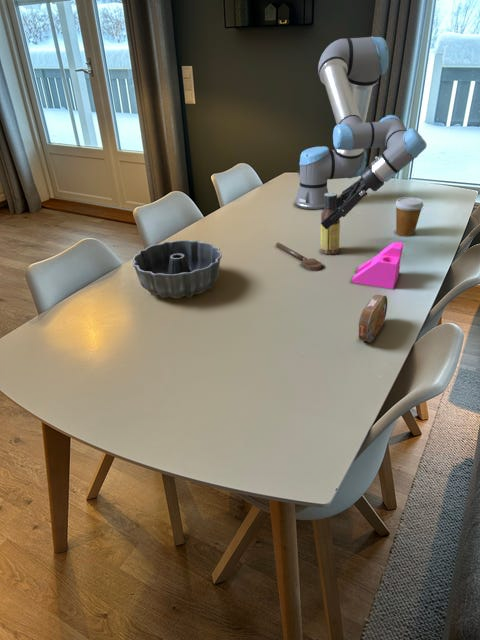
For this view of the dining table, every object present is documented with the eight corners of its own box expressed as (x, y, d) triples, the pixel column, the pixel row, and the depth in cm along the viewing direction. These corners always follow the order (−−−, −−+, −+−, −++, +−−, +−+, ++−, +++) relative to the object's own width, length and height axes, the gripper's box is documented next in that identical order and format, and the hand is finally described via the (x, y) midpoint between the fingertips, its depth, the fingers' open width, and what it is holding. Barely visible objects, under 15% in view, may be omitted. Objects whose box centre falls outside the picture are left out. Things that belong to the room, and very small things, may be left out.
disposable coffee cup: (415, 228, 175) (420, 196, 168) (421, 237, 167) (426, 204, 160) (389, 228, 176) (393, 196, 169) (394, 237, 168) (398, 205, 161)
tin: (367, 348, 110) (370, 318, 106) (354, 345, 112) (357, 315, 108) (386, 319, 121) (390, 290, 117) (374, 316, 123) (378, 288, 118)
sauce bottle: (340, 248, 162) (344, 191, 151) (337, 256, 157) (341, 197, 146) (321, 247, 164) (323, 190, 153) (317, 254, 159) (320, 196, 148)
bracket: (398, 274, 143) (403, 242, 138) (393, 288, 135) (397, 256, 130) (359, 268, 148) (362, 237, 142) (351, 282, 140) (354, 250, 134)
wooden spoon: (270, 247, 165) (270, 243, 164) (282, 244, 167) (282, 240, 166) (311, 271, 147) (311, 267, 146) (324, 267, 149) (325, 263, 148)
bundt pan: (187, 260, 159) (184, 232, 154) (241, 283, 143) (240, 252, 137) (120, 287, 144) (114, 257, 139) (172, 316, 127) (168, 284, 122)
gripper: (369, 155, 153) (321, 199, 164) (368, 175, 132) (313, 224, 144) (384, 172, 154) (336, 214, 166) (386, 194, 134) (330, 241, 145)
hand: (325, 219), depth 155 cm, fingers open, 13 cm apart
